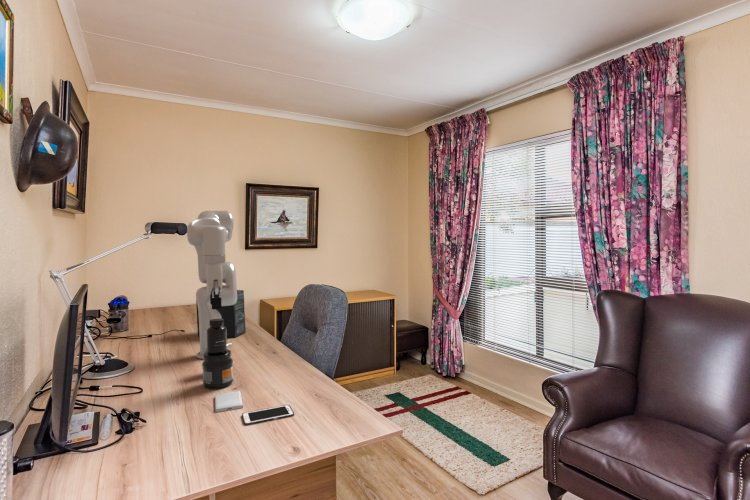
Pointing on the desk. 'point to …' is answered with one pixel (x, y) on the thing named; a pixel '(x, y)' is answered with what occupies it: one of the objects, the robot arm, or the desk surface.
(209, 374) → the supplement container
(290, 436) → the desk surface
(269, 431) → the desk surface
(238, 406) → the hard drive
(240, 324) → the headset box
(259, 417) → the cell phone
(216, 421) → the desk surface
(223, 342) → the supplement bottle
